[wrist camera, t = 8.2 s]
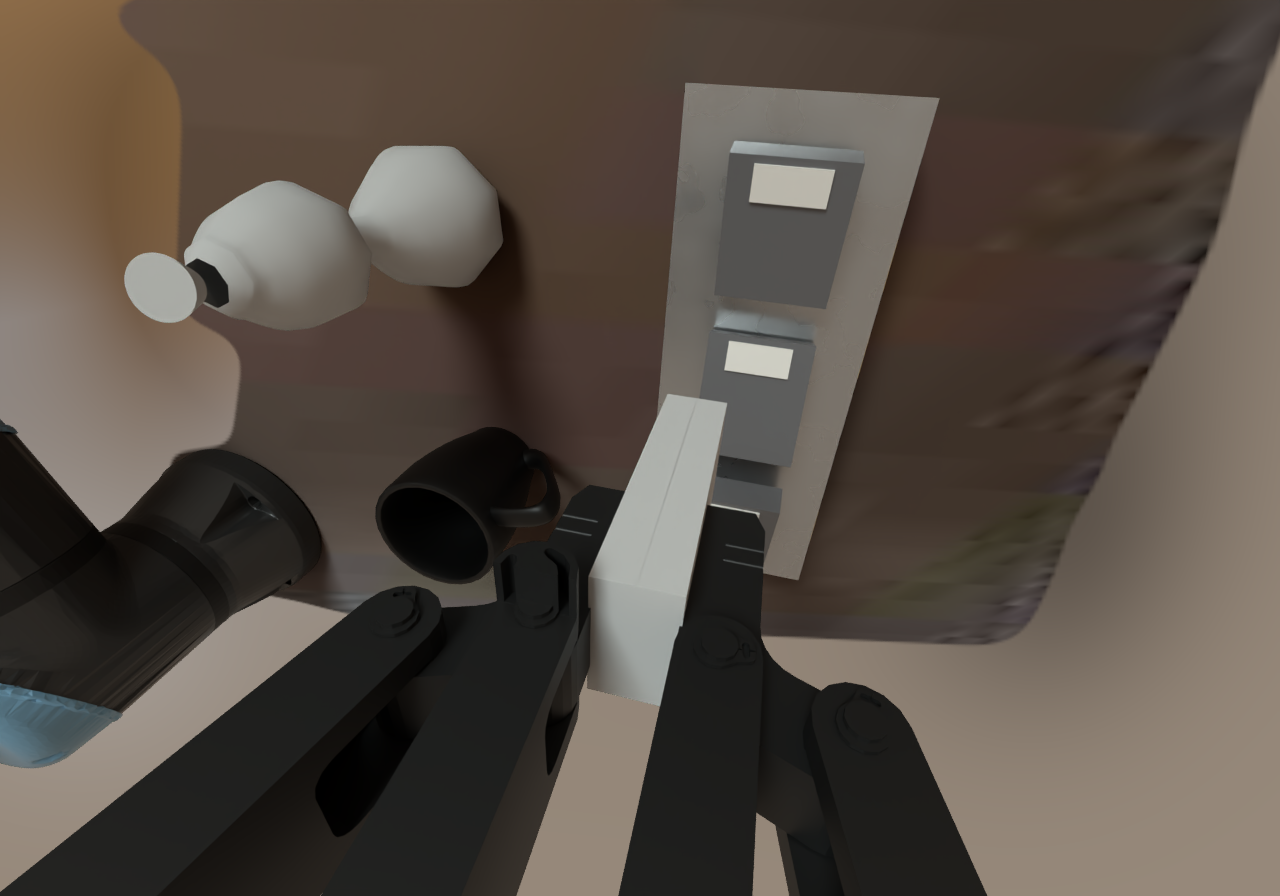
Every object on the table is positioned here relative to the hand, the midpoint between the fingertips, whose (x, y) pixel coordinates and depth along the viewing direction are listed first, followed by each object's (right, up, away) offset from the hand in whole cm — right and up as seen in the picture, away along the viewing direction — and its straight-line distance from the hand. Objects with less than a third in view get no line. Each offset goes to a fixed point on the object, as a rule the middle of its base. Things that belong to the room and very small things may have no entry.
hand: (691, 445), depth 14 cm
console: (+6, +6, +19) cm, 21 cm away
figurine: (-12, +14, +19) cm, 27 cm away
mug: (-10, -1, +28) cm, 30 cm away
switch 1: (+5, +9, +9) cm, 14 cm away
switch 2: (+4, +2, +13) cm, 14 cm away
